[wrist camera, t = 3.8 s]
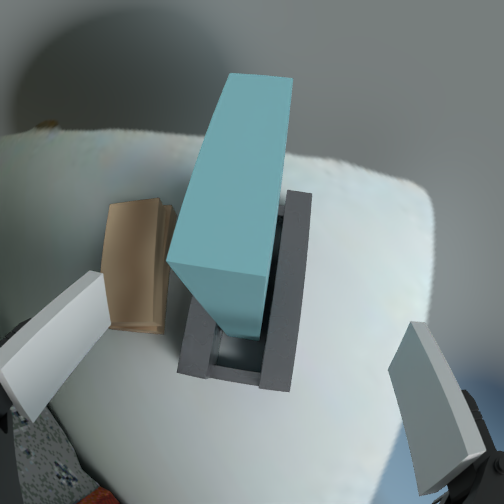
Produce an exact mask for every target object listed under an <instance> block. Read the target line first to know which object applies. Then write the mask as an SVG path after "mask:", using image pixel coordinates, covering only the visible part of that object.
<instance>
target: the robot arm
mask: <svg viewBox="0 0 504 504" xmlns="http://www.w3.org/2000/svg"><path fill="white" fill-rule="evenodd" d="M110 325H111V321H110V315H109V309H108V303H107V297H106V291H105V283H104V276H103V273H99V272H95V271H91V270H90V271H88V272H87V273H86V274H85V275H83V276H82V277H81V278H80V279H78V280H77V281H76V282H75V283H73V284H72V285H71V286H70V287H68V288H67V289H66V290H65V291H64V292H62V293H61V294H60V295H59V296H58V297H56V298H55V299H54V300H53V301H52V302H50V303H49V304H48V305H47V306H46V307H45V308H43V309H42V310H41V311H40V312H39V313H38V314H37V315H35V316H34V317H33V318H30V319H28V320H26V321H24V322H22V323H20V324H19V325H18V326H16V327H15V328H14V329H13V330H12V332H10V333H9V334H8V335H7V336H6V338H3V339H2V340H1V341H0V504H24V502H23V498H22V493H21V488H20V482H19V477H18V470H17V463H16V455H15V446H14V434H13V415H12V411H11V410H10V408H11V406H12V405H14V406H15V408H16V410H17V411H18V413H19V414H20V415H21V416H23V417H24V418H26V419H27V420H29V421H31V422H32V423H34V422H35V420H36V419H37V417H38V416H39V415H40V413H41V412H42V411H43V409H44V408H45V407H46V405H47V404H48V403H49V401H50V400H51V399H52V397H53V396H54V395H55V393H56V392H57V391H58V389H59V388H60V387H61V385H62V384H63V383H64V382H65V380H66V379H67V378H68V376H69V375H70V374H71V373H72V371H73V370H74V369H75V368H76V366H77V365H78V364H79V363H80V361H81V360H82V359H83V358H84V356H85V355H86V354H87V353H88V351H89V350H90V349H91V348H92V347H93V345H94V344H95V343H96V342H97V340H98V339H99V338H100V337H101V336H102V334H103V333H104V332H105V331H106V330H107V329H108V327H109V326H110ZM388 371H389V375H390V378H391V381H392V385H393V388H394V391H395V395H396V398H397V402H398V405H399V409H400V413H401V416H402V420H403V424H404V428H405V432H406V435H407V440H408V444H409V448H410V453H411V457H412V462H413V467H414V471H415V476H416V481H417V486H418V492H419V496H422V495H427V494H431V493H436V492H438V491H439V490H440V489H442V488H443V487H445V486H446V485H447V486H448V491H447V492H446V493H444V494H443V495H442V496H440V497H439V498H437V499H436V500H435V501H434V502H433V503H432V504H436V503H438V502H439V501H440V503H439V504H504V452H502V451H497V450H496V449H495V446H494V444H493V441H492V439H491V436H490V434H489V431H488V429H487V427H486V424H485V422H484V420H482V415H481V413H480V412H479V411H478V410H479V409H478V406H477V404H476V402H475V400H474V398H473V397H472V396H471V395H470V394H469V393H468V392H467V391H466V390H461V389H460V387H459V385H458V383H457V381H456V379H455V377H454V375H453V373H452V371H451V369H450V367H449V365H448V363H447V361H446V359H445V358H444V356H443V354H442V352H441V350H440V348H439V346H438V344H437V343H436V341H435V339H434V337H433V335H432V334H431V332H430V330H429V328H428V327H427V325H426V323H425V322H413V321H410V324H409V326H408V328H407V330H406V333H405V335H404V337H403V339H402V342H401V344H400V346H399V348H398V350H397V352H396V354H395V356H394V358H393V360H392V362H391V364H390V366H389V368H388Z"/></svg>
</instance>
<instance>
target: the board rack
mask: <svg viewBox="0 0 504 504" xmlns="http://www.w3.org/2000/svg"><path fill="white" fill-rule="evenodd" d="M311 201H312V193H305V192H299V191H292V190H287V195H286V201H285V206H282V205H279V207H278V215H277V223H279V224H282V229H281V237H280V244H279V252H278V259H277V266H276V274H275V281H274V288H273V295H272V301H271V308H270V315H269V321H268V328H267V335H266V341H265V347H264V354H263V360H262V366H261V372H253V371H247V370H240V369H234V368H229V367H223V366H218V365H216V364H217V358H218V353H219V347H220V342H221V336H222V331H223V330H222V329H221V328H220V326H219V325H218V324H217V323H216V322H215V321H214V319H213V318H212V317H211V316H210V315H209V314H208V312H207V311H206V310H205V309H204V308H203V306H202V305H201V304H200V303H199V302H198V300H197V299H196V298H195V297H194V296H193V294H192V299H191V303H190V308H189V313H188V317H187V322H186V327H185V332H184V337H183V342H182V347H181V353H180V358H179V363H178V369H177V373H181V374H185V375H189V376H194V377H199V378H203V379H208V378H215V379H220V380H225V381H231V382H237V383H243V384H249V385H256V386H259V388H260V389H268V390H275V391H283V392H290V386H291V379H292V373H293V366H294V359H295V352H296V345H297V338H298V331H299V323H300V315H301V307H302V298H303V289H304V280H305V271H306V261H307V250H308V239H309V227H310V215H311Z"/></svg>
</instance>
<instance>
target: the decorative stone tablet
mask: <svg viewBox="0 0 504 504" xmlns="http://www.w3.org/2000/svg"><path fill="white" fill-rule="evenodd" d="M10 410H11V411H12V415H13V434H14V446H15V455H16V463H17V470H18V477H19V482H20V488H21V493H22V498H23V502H24V504H120V503H119V502H118V501H117V499H116V498H115V497H114V496H113V494H112V493H111V492H110V491H108V490H106V489H104V488H102V487H100V486H99V484H98V483H97V482H96V481H94V480H93V479H92V478H91V477H90V476H89V475H88V474H87V473H85V472H84V471H83V470H82V469H81V466H80V464H79V461H78V459H77V456H76V453H75V451H74V448H73V447H72V445H71V444H70V442H69V440H68V439H67V437H66V435H65V433H64V432H63V430H62V429H61V427H60V426H59V424H58V423H57V421H56V420H55V418H54V417H53V415H52V414H51V412H50V411H49V409H48V408H47V406H46V407H45V408H44V409H43V411H42V412H41V413H40V415H39V416H38V417H37V419H36V420H35V422H34V423H32V422H31V421H29V420H27V419H26V418H24V417H23V416H21V415H20V414H19V413H18V411H17V410H16V408H15V406H14V405H12V406H11V408H10Z"/></svg>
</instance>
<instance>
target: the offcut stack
mask: <svg viewBox="0 0 504 504" xmlns="http://www.w3.org/2000/svg"><path fill="white" fill-rule="evenodd" d="M176 217H177V215H176V213H175V211H174V209H173V207H172V205H163V204H162V202H161V200H160V198H153V199H145V200H137V201H129V202H122V203H115V204H110V206H109V212H108V218H107V224H106V231H105V238H104V245H103V253H102V261H101V271H100V273H103V276H104V283H105V291H106V297H107V303H108V309H109V315H110V321H111V325H110V326H109V327H108V328H109V329H113V330H122V331H131V332H142V333H153V334H164V330H165V316H166V304H167V293H168V282H169V273H170V266H169V264H168V263H167V262H166V259H167V255H168V251H169V248H170V244H171V241H172V237H173V234H174V230H175V224H176Z"/></svg>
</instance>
